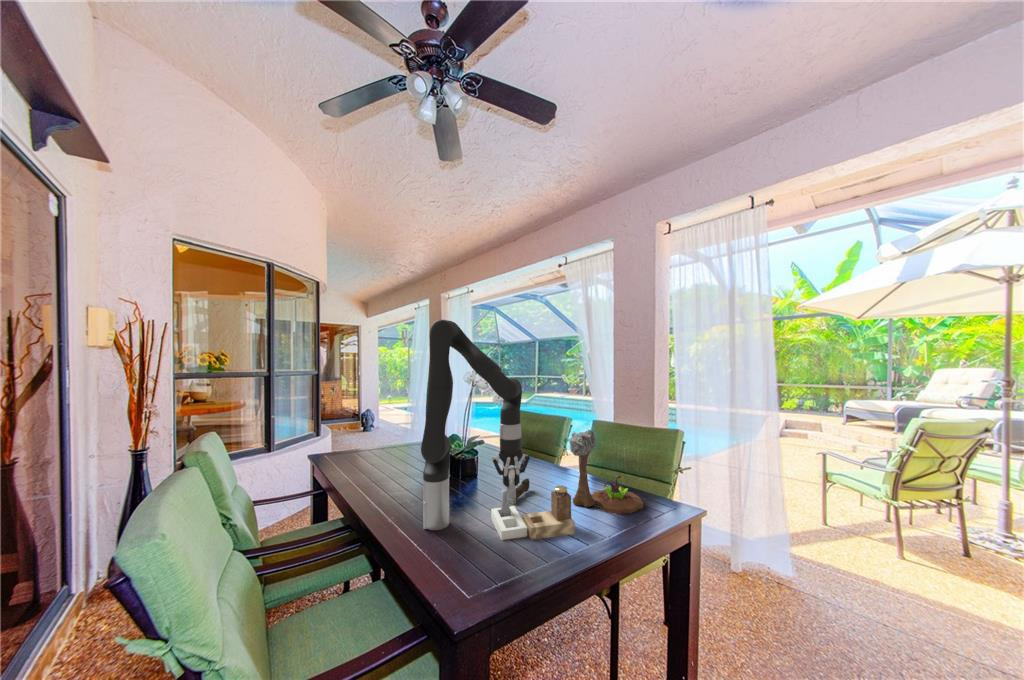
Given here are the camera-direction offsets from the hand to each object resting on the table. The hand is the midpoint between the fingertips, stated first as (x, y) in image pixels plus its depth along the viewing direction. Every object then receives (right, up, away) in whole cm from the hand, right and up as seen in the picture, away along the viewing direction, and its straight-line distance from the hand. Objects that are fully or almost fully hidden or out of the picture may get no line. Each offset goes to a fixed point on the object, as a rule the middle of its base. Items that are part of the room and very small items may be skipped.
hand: (511, 485), depth 127 cm
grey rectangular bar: (0, -6, 0) cm, 6 cm away
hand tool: (+1, -21, +28) cm, 35 cm away
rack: (-1, -18, +4) cm, 18 cm away
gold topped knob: (+18, -9, +3) cm, 20 cm away
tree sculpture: (+30, -18, +24) cm, 42 cm away
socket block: (+13, -17, +2) cm, 22 cm away
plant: (+44, -18, +25) cm, 54 cm away
